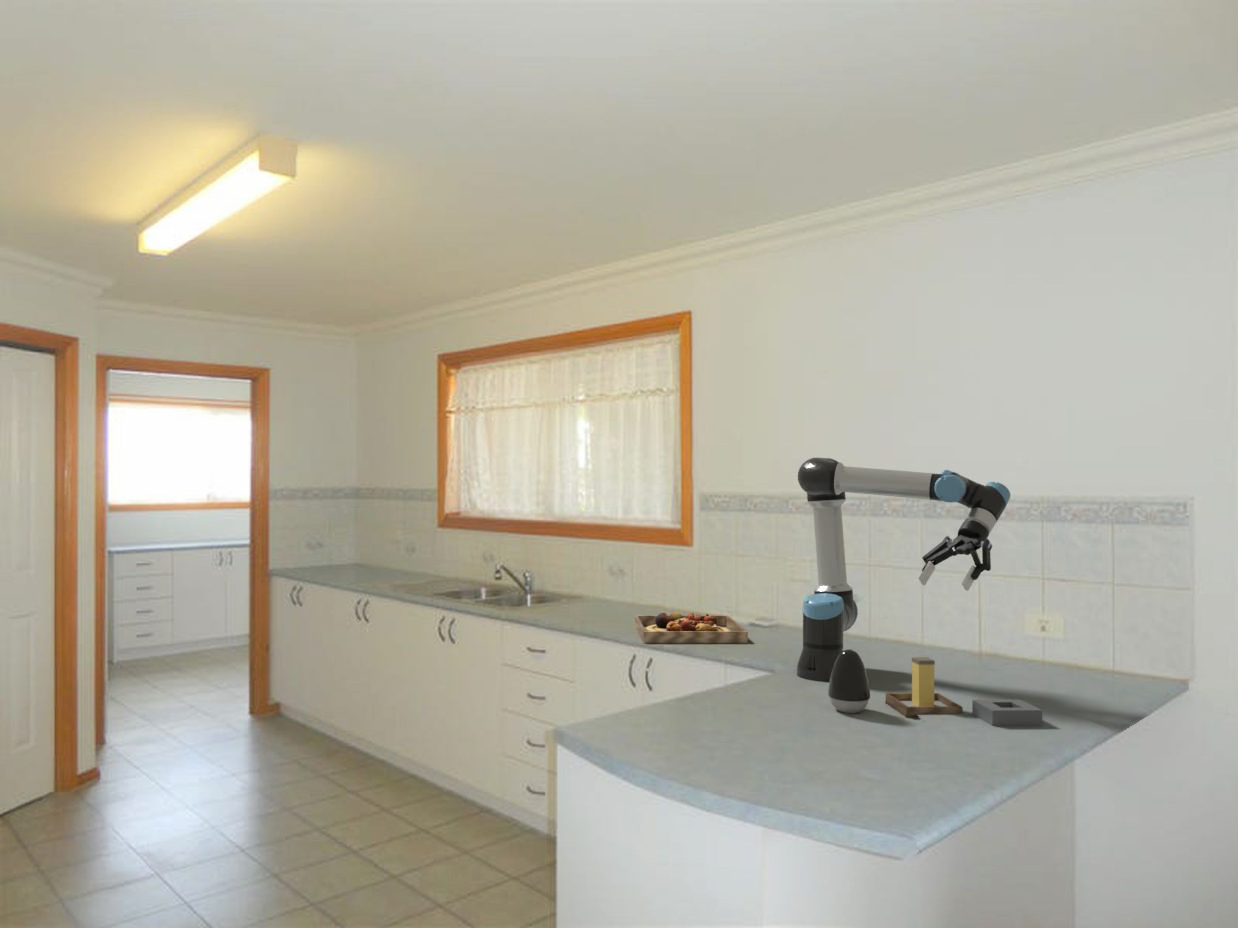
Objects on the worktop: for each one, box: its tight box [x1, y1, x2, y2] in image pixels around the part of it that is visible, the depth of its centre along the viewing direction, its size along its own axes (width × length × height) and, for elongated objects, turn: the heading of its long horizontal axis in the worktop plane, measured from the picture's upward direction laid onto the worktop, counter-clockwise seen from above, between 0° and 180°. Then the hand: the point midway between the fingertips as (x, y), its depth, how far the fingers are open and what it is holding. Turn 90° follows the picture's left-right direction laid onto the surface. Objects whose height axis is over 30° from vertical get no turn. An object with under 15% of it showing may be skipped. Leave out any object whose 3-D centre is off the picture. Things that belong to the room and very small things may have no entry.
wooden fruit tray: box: [634, 614, 749, 644], centre depth 327 cm, size 37×37×4 cm
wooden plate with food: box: [645, 610, 731, 631], centre depth 327 cm, size 32×32×8 cm
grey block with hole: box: [971, 699, 1043, 727], centre depth 209 cm, size 12×10×4 cm
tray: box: [885, 692, 964, 718], centre depth 221 cm, size 14×14×2 cm
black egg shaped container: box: [827, 648, 871, 714], centre depth 220 cm, size 10×10×15 cm
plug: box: [911, 656, 936, 707], centre depth 222 cm, size 4×4×12 cm
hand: (942, 584), depth 238 cm, fingers open, 13 cm apart
